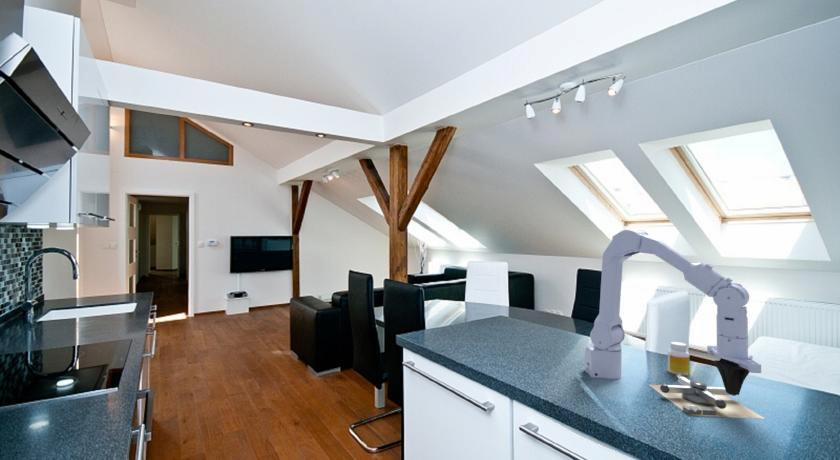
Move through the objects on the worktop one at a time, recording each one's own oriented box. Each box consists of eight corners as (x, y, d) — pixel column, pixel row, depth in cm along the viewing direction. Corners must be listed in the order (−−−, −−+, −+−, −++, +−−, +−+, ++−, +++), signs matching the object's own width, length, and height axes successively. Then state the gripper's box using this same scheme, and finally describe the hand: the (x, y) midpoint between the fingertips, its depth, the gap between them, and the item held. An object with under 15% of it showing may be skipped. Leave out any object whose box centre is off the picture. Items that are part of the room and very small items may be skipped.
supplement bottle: (693, 380, 111) (693, 346, 111) (672, 378, 112) (672, 345, 112) (684, 373, 116) (684, 341, 116) (664, 372, 117) (664, 340, 117)
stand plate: (689, 420, 86) (689, 415, 86) (648, 388, 104) (648, 384, 104) (765, 424, 85) (765, 418, 85) (710, 391, 103) (710, 386, 103)
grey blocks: (688, 414, 87) (688, 406, 87) (682, 410, 89) (682, 402, 89) (716, 415, 86) (716, 407, 86) (710, 411, 88) (710, 403, 88)
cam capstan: (682, 413, 87) (682, 397, 87) (642, 382, 105) (642, 369, 105) (766, 416, 86) (766, 400, 86) (712, 385, 104) (712, 372, 104)
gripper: (776, 344, 83) (776, 407, 83) (727, 328, 97) (728, 382, 97) (741, 343, 84) (742, 406, 83) (698, 327, 98) (698, 381, 98)
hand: (732, 393), depth 90 cm, fingers closed
